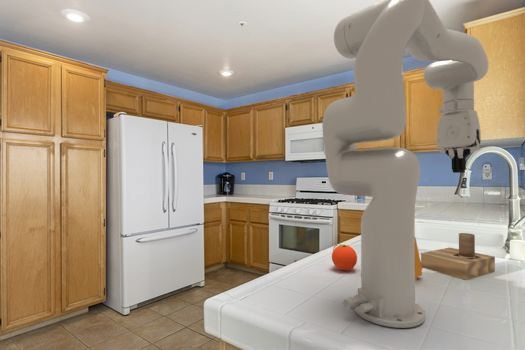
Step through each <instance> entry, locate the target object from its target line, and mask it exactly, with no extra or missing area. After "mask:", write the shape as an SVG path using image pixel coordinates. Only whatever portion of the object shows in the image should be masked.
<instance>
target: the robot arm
mask: <svg viewBox="0 0 525 350" xmlns="http://www.w3.org/2000/svg"><path fill="white" fill-rule="evenodd" d="M333 32H334V33H333V42H334V46H335V49H336V51H337V52H338V53H339V54H340V55H341V56H342V57H344V58H345V59H353V60H354V63H353V64H354V65H353V79H354V80H353V82H354V94H353V95H351V96H348V97H343V98H340V99H336V100H335V101H332V102H331V103H330V104H329V105H328V106H327V108H326V109H325V111H324V113H323V117H322V138H323V145H324V156H325V163H326V172H327V176H328V177H327V179H328V181H329V184H330V186H331V188H332V189H333V191H334V192H336V193H337V194H340V195H342V196H343V195H345V196H352V197H353V196H355V197H369V198H370V197H371V201H370V202H369V203H368V205H367V206H366V208H364V211H363V213H362V215H361V218H360V252H361V255H360V260H361V261H360V262H361V263H360V267H361V269H360V270H361V272H360V274H361V277H360V278H361V285H360V286H361V287H358V288H357V294H355V295H354V297H347V298H344V299H343V301H342V306H343V308H344V309H345V310H347V311H350V310H354V312H355V313H356V314H357V315H358V316H359V317H360V318H362V319H364V320H366V321H368V322H370V323H373V324H375V325H379V326H385V327H388V328H389V327H390V328H398V329H399V328H401V329H405V328H414V327H415V328H416V327H418V326H420V325H421V324H423V323H424V321H425V320H426V319H425V318H426V317H425V315H426V313H425V311H424V309H423V308H422V307H421V305H419V304H418V303H416V281H415V238H416V236H415V235H416V234H415V221H416V219H415V217H416V216H415V213H416V200H417V193H418V188H419V187H418V186H419V183H420V177H421V165H420V164H421V163H420V160H419V158H418V157H417V155H416V154H415V153H414V152H413V151H410V150H409V149H406V148H403V147H396V146H395V147H394V146H391V147H389V146H387V147H377V148H367V149H357V144H364V143H373V142H375V143H376V142H381V141H388V140H392V139H396V138H398V137H400V136H401V135H402V134H403V133H404V132H405V129H406V125H407V107H406V106H407V105H406V93H405V81H404V57H405V54H406V53H405V52H406V50H407V51H408V53H409V54H410V55H411V56H412V58H413V59H414V60H417V61H421V62H432V63H430V64H429V65H427V66H426V68H425V69H424V71H423V80H424V82H425V85H427V86H428V87H429V88H431V89H433V90H439V91H441V90H442V107H441V108H439V109H438V112H439V113H440V114H442V115H439V118H438V119H439V120H438V123H437V129H436V147H437V148H438V149H439V150H438V153H439V154H445V155H447V156H448V157H449V159H451V170H452V173H455V174H456V173H459V174H460V173H462V174H463V173H465V172H466V168H467V167H466V166H467V161H466V160H467V159H468V158H469V156H470V154H472V153H474V152H478V151H480V150H481V146H480V145H481V141H482V140H481V139H482V136H481V135H482V134H481V125H480V119H479V116H478V113H477V110H475V82H478V81H480V80H482V79H484V77H486V76H487V73H488V71H489V60H488V56H487V54H486V51H485V49H484V47H483V45H482V43H481V41H479V39H478V38H477V37H475V36H474V35H472V34H468V33H466V32H463V31H462V32H461V31H459V30H456V29H455V30H454V29H448V28H446V27H445V25H444V23H443V22H442V20H441V18H440V17H439V15H438V13H437V11H436V9H435V8H434V6H433V4H432V3H431V1H430V0H378V1H377V2H375V3H372V4H370V5H368V6H367V7H364V8H362V9H360V10H358V11H356V12H354V13H352V14H350V15H347V16H345V17H344V18H342V19H341V20H340V21H339V22H338V23H337V25H336V27H335V29H334V31H333Z"/></svg>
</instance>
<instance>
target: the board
mask: <svg viewBox="0 0 525 350" xmlns="http://www.w3.org/2000/svg"><path fill="white" fill-rule="evenodd" d="M495 257H496V256H494V255H493V256H492V255H489V254H484V253H479V252H475V259H467V258H462V257H459V248H454V247H446V248H441V249H436V250H435V249H434V250H430V251H423V252H421V253H420V261H421V266H422V269H423V268H424V269H427V270H430V271H433V272H437V273H441V274H444V275H447V276H451V277H454V278H458V279H462V280H470V279H474V278H476V277H481V276H484V275H488V274H490V273H494V272H495V271H496V258H495Z"/></svg>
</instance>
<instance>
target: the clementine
mask: <svg viewBox="0 0 525 350" xmlns="http://www.w3.org/2000/svg"><path fill="white" fill-rule="evenodd" d="M332 248H333V249H332V253H331V260H332V263H333V265H334V266H335V267H336V268H337V269H338V270H341V271H350V270H352V269H353V268H354V267H356V265H357V262H358V256H357V253H356V251H355V249H354V248H353V247H351V246H350V245H347V244H340V243H339V244H336V245H334V247H332Z"/></svg>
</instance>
